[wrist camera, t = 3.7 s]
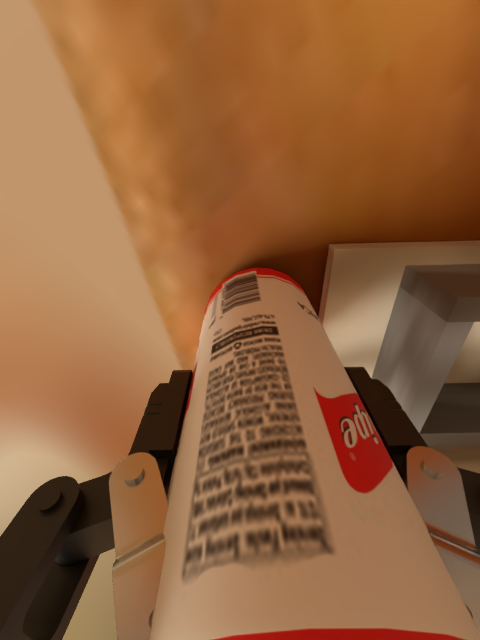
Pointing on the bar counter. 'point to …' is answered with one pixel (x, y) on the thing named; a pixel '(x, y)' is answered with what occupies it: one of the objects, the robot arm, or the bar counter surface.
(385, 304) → the can rack
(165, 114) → the bar counter surface
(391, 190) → the bar counter surface
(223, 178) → the bar counter surface
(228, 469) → the beer can
